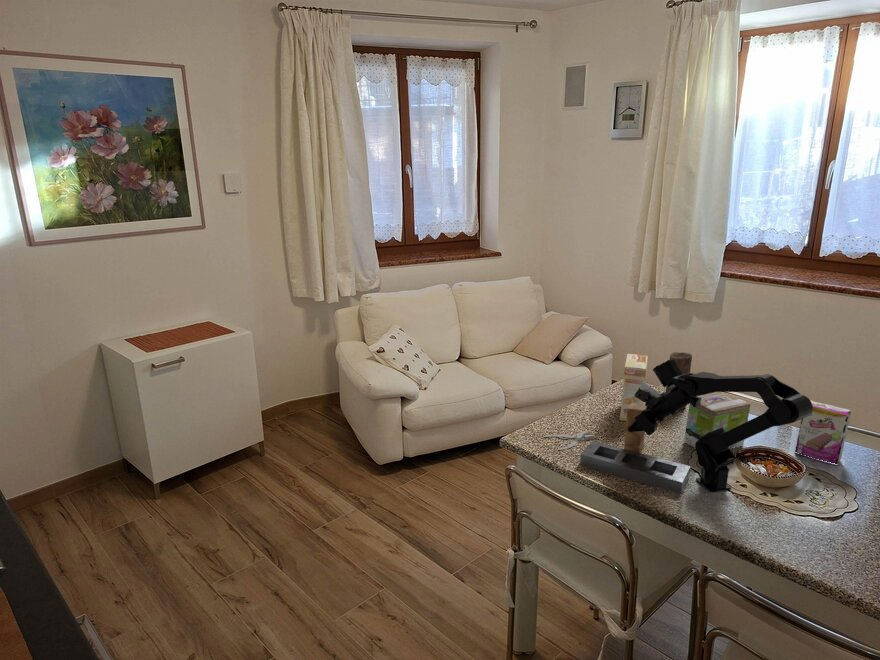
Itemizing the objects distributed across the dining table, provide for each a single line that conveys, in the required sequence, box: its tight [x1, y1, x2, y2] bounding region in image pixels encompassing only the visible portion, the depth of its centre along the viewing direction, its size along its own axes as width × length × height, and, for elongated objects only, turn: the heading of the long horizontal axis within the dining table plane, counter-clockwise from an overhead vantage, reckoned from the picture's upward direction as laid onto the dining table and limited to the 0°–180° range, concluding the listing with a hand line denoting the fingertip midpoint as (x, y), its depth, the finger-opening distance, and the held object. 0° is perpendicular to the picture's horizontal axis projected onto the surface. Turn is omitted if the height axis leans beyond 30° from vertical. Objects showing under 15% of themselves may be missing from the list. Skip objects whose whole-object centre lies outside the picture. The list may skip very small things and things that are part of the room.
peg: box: [623, 403, 647, 454], centre depth 175 cm, size 4×4×14 cm
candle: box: [665, 351, 693, 409], centre depth 207 cm, size 8×7×20 cm
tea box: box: [683, 392, 751, 449], centre depth 181 cm, size 15×10×15 cm, turn 114°
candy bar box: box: [794, 399, 852, 464], centre depth 172 cm, size 11×5×16 cm, turn 47°
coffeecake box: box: [619, 353, 649, 422], centre depth 202 cm, size 15×7×20 cm, turn 159°
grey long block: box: [579, 440, 691, 495], centre depth 167 cm, size 28×10×4 cm, turn 56°
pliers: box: [542, 430, 595, 451], centre depth 186 cm, size 10×2×15 cm
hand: (630, 427), depth 175 cm, fingers closed on peg, 4 cm apart
